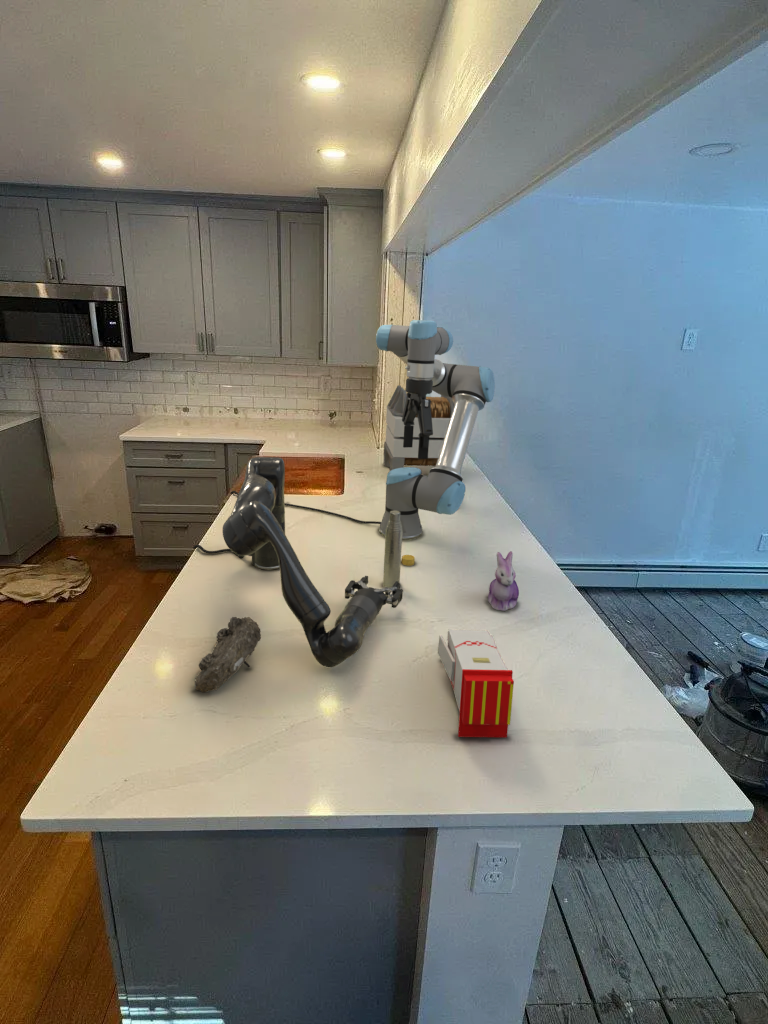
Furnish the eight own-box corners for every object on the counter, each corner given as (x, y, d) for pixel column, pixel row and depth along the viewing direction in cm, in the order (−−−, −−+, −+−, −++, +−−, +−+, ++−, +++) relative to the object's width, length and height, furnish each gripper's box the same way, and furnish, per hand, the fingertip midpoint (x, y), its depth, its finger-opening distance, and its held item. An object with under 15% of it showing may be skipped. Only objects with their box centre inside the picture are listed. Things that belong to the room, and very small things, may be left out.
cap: (414, 560, 179) (414, 554, 179) (414, 566, 175) (415, 560, 175) (401, 560, 179) (401, 554, 179) (401, 565, 175) (401, 559, 175)
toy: (488, 613, 130) (523, 677, 101) (484, 667, 133) (517, 744, 104) (435, 612, 130) (455, 676, 101) (432, 666, 133) (451, 743, 103)
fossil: (214, 619, 133) (260, 589, 128) (241, 647, 136) (288, 619, 131) (174, 686, 113) (226, 654, 108) (207, 716, 116) (260, 687, 111)
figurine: (500, 615, 149) (507, 563, 144) (477, 598, 157) (483, 548, 152) (528, 608, 153) (536, 557, 148) (504, 591, 161) (510, 543, 156)
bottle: (399, 589, 160) (403, 515, 153) (382, 588, 160) (386, 514, 153) (399, 582, 165) (403, 509, 157) (383, 581, 165) (386, 508, 157)
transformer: (382, 463, 289) (386, 382, 275) (445, 464, 293) (451, 384, 279) (390, 482, 257) (394, 392, 243) (460, 483, 261) (468, 394, 247)
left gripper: (391, 601, 134) (408, 573, 148) (334, 590, 137) (357, 564, 152) (389, 629, 136) (406, 598, 151) (334, 618, 140) (356, 589, 154)
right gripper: (393, 373, 168) (390, 443, 176) (421, 384, 146) (416, 464, 153) (417, 373, 170) (413, 442, 178) (448, 384, 148) (442, 463, 155)
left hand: (381, 581), depth 151 cm, fingers open, 8 cm apart
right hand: (414, 452), depth 165 cm, fingers open, 13 cm apart
